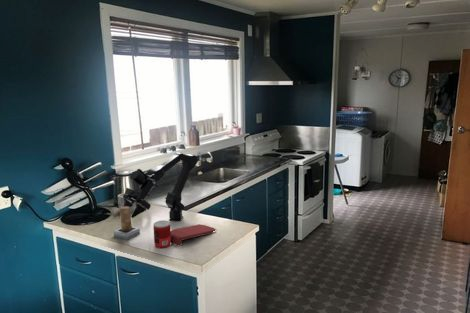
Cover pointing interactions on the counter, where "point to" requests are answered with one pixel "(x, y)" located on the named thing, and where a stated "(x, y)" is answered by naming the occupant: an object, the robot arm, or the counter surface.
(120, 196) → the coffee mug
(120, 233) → the socket base
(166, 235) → the canned food
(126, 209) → the tan round-ended cylinder
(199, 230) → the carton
